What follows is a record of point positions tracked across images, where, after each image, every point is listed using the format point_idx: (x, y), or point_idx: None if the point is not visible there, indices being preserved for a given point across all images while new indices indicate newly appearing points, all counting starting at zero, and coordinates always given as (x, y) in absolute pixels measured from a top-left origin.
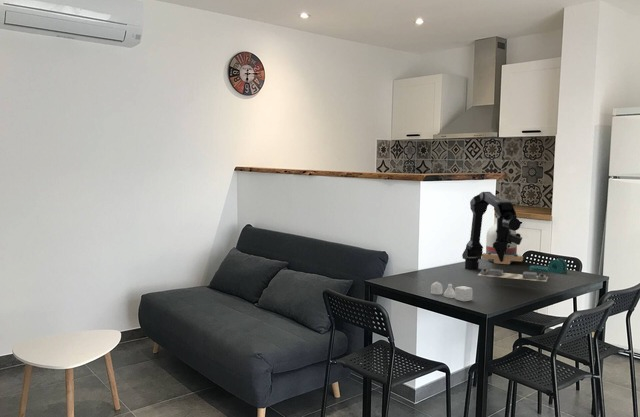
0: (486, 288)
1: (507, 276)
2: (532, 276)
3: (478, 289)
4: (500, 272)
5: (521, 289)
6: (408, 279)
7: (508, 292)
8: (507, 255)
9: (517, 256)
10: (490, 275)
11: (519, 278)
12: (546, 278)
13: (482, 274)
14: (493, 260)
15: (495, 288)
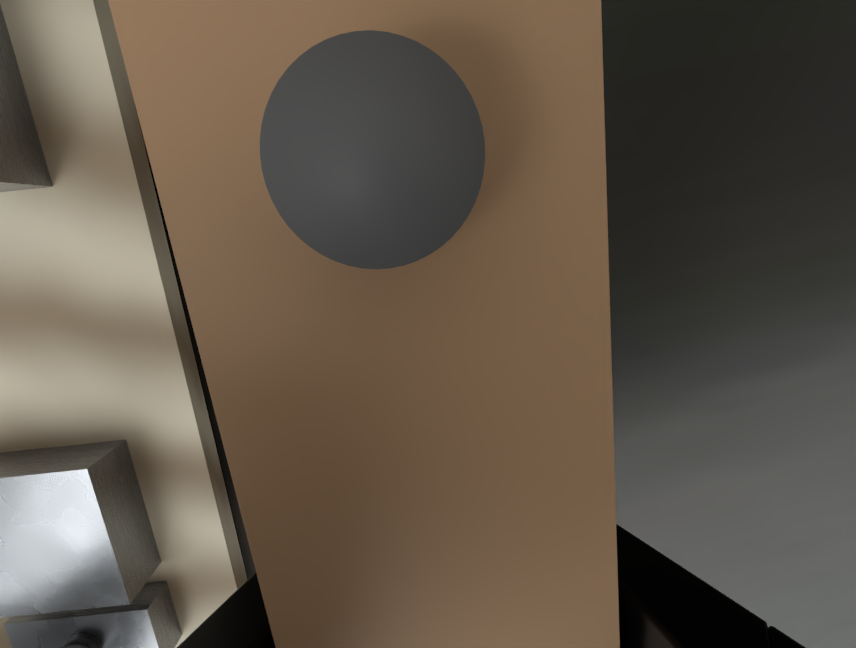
0: (743, 418)
1: (93, 373)
2: None
3: (819, 466)
4: (97, 471)
5: (626, 77)
6: None
7: (846, 177)
8: (448, 523)
9: (472, 55)
10: (176, 540)
11: (108, 216)
12: None
13: (181, 616)
14: None
15: (704, 344)
